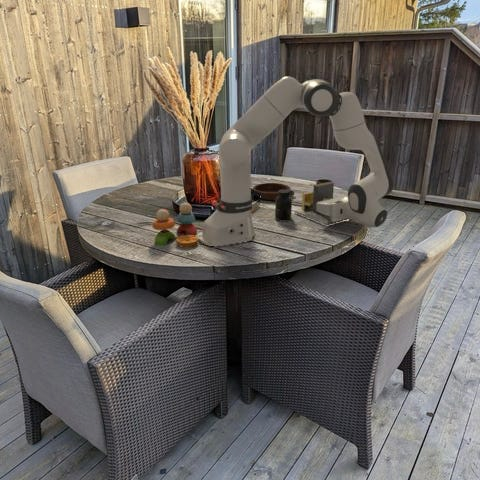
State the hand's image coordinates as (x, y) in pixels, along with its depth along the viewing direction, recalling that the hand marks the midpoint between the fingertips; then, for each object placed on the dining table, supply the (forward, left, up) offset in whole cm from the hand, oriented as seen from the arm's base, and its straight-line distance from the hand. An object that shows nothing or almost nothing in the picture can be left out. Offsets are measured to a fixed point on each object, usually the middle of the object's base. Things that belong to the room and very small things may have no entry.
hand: (325, 199), depth 185 cm
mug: (+14, +15, -8) cm, 22 cm away
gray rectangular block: (0, +3, -6) cm, 7 cm away
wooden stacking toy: (-61, +12, -8) cm, 63 cm away
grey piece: (0, -1, -7) cm, 8 cm away
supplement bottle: (-16, +8, -8) cm, 19 cm away
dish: (-1, +36, -8) cm, 37 cm away
